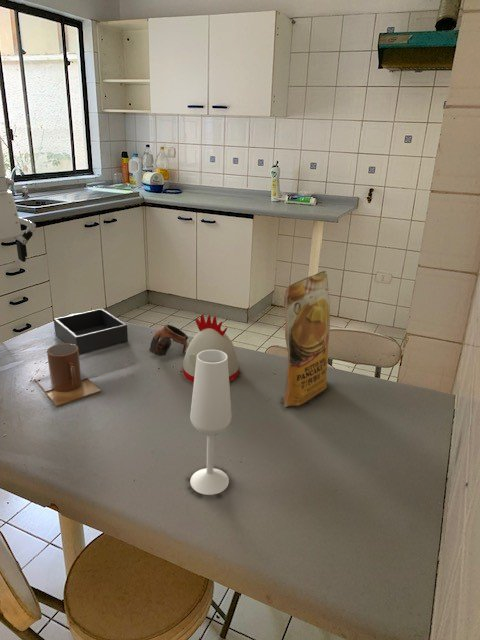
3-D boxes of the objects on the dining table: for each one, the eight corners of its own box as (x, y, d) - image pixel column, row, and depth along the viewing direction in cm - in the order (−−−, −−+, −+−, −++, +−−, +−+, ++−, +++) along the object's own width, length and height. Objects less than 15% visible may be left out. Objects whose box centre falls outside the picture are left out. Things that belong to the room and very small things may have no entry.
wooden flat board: (34, 380, 108) (33, 378, 108) (75, 368, 115) (75, 366, 114) (56, 407, 99) (56, 405, 99) (100, 392, 105) (100, 390, 105)
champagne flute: (212, 462, 84) (215, 343, 75) (237, 482, 80) (243, 358, 71) (182, 479, 80) (181, 354, 71) (206, 501, 75) (208, 371, 66)
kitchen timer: (198, 354, 124) (198, 302, 119) (246, 365, 120) (249, 311, 114) (173, 378, 112) (172, 320, 107) (225, 390, 108) (227, 331, 102)
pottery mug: (151, 344, 130) (165, 319, 129) (180, 362, 130) (194, 337, 129) (139, 353, 118) (155, 325, 117) (171, 372, 118) (187, 344, 117)
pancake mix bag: (265, 402, 104) (274, 283, 93) (313, 374, 117) (326, 267, 107) (289, 414, 100) (301, 291, 89) (336, 384, 113) (351, 273, 102)
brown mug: (47, 383, 107) (42, 347, 103) (74, 374, 111) (71, 340, 107) (61, 399, 101) (57, 362, 97) (90, 390, 105) (87, 354, 101)
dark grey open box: (55, 337, 131) (53, 318, 128) (103, 326, 139) (102, 308, 137) (78, 357, 120) (75, 337, 118) (128, 344, 129) (127, 324, 127)
